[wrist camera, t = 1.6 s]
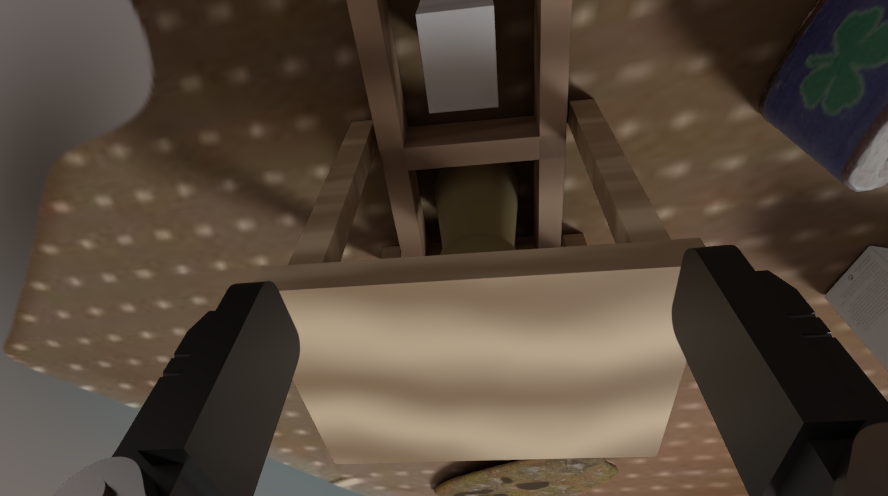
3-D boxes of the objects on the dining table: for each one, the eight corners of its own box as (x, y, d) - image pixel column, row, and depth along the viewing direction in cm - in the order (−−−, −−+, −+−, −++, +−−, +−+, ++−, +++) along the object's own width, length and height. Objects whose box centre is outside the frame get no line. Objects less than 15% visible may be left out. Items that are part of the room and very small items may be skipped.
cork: (517, 148, 32) (536, 251, 24) (520, 221, 36) (537, 333, 27) (428, 156, 33) (415, 260, 24) (440, 228, 37) (432, 339, 28)
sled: (356, -18, 26) (315, 26, 19) (563, -44, 25) (602, -8, 18) (411, 259, 38) (399, 348, 31) (553, 249, 37) (574, 340, 30)
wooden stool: (338, 115, 31) (248, 292, 18) (607, 89, 30) (716, 264, 17) (395, 332, 44) (366, 525, 31) (584, 323, 42) (636, 523, 30)
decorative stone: (582, 407, 50) (591, 456, 47) (649, 444, 59) (661, 488, 56) (418, 457, 64) (416, 498, 61) (492, 481, 72) (494, 518, 69)
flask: (783, 123, 30) (904, 220, 22) (742, 112, 30) (848, 206, 22) (902, -40, 25) (1124, 7, 16) (853, -56, 25) (1053, -16, 16)
